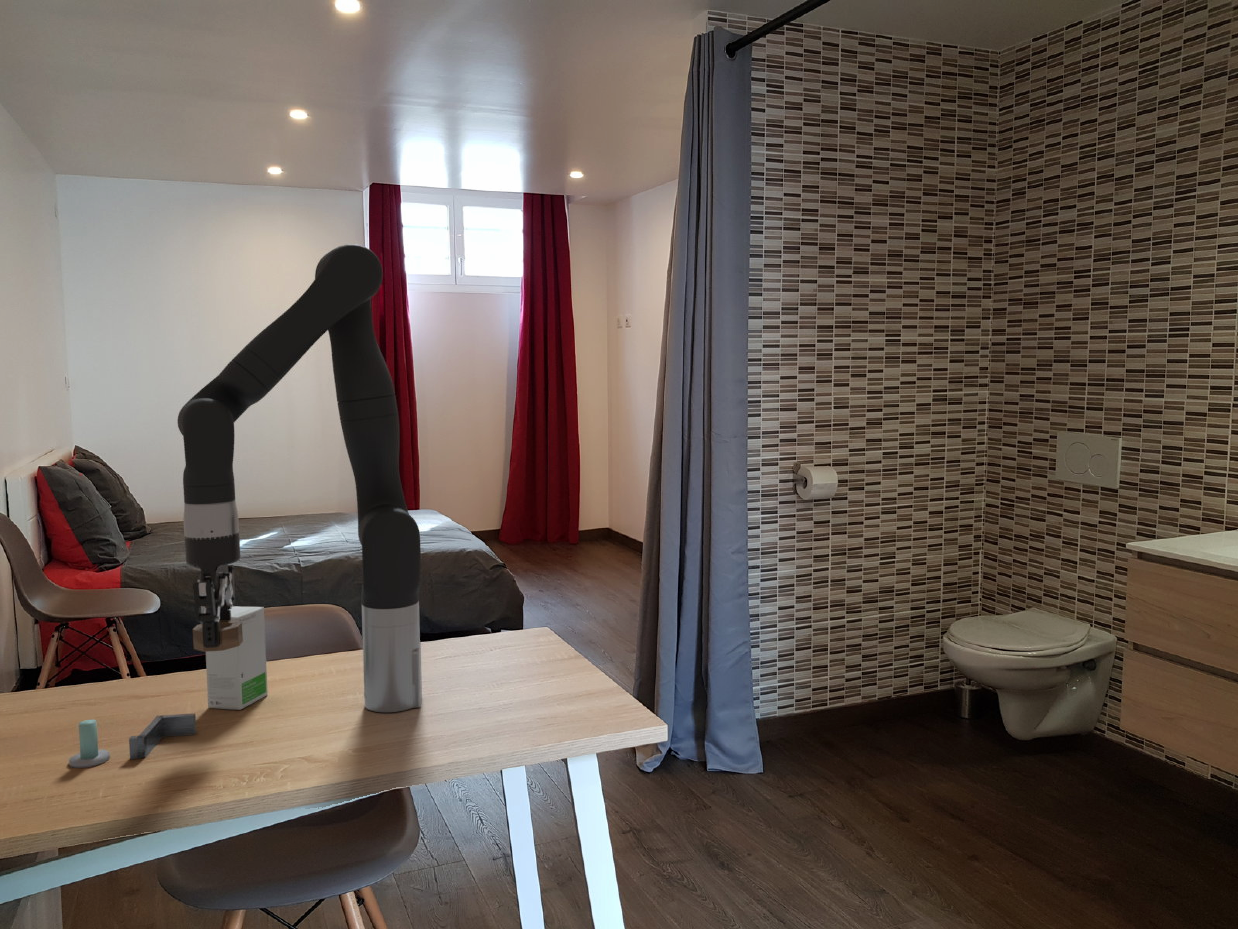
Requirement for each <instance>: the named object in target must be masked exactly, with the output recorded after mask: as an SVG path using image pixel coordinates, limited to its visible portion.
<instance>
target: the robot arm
mask: <svg viewBox="0 0 1238 929" xmlns="http://www.w3.org/2000/svg"><path fill="white" fill-rule="evenodd" d="M383 276H384V271H383V266H382V262H381V260H380V259H379V257H378V256H377V255H376V253H374V252H373V250H371V249H370V248H367V247H366V246H364V245H360V244H355V243H353V244H352V243H351V244H349V243H347V244H343V245H340V246H337V247H335V248H333V249H332V250H330V251H329V252H327V253H326V254H324V255H323V256H322V257H321V258H320V259H319V261H318V262H317V265H316V267H315V272H314V279H313V281H312V283H311V284H310V286H308V288H307V289H306V290H305V292H304V293H302V295H301V296H300V297H299V298H297V300H296V301H295V302H294V303H293V304H292V305H291V306H290V307H289V308H287V309H286V311H284V312H283V313H282V314H281V315H280V316H278V317H277V318H276V319H275V320H274V321H272V322H271V323H270V324H269V325H268V326H266V327H265V328H264V329H263V330H262V331H260V332H259V333H257V335H256V336H254V337H253V338H252V339H251V340H250V342H248V343H247V344H246V345H245V346H244V347H243V348H242V349H241V350H240V352H239V353H237V354H236V355H235V356H234V357H233V358H232V359H231V360H230V361H229V362H228V363H227V365H226V366H225V367H224V368H223V369H222V370H221V371H220V373H219V374H218V375H216V377H215V378H213V379H212V380H211V381H209V382H208V383H207V384H206V385H205V386H204V387H202V388H201V389H200V390H199V391H198V392H197V393H196V394H194V395H193V396H192V397H191V398H190V399H189V400H188V401H187V402H186V403H185V404H184V405H183V406H182V407H181V409H180V410H179V413H178V416H177V427H178V429H179V433H180V434H181V435H182V436H183V437H182V438H183V446H184V461H185V465H184V469H183V473H182V474H183V476H182V486H183V501H184V505H183V506H184V508H183V509H184V510H183V519H182V520H183V532H184V533H183V535H184V548H185V550H184V552H185V553H184V554H185V563H186V564H187V566H189V567H190V566H191V567H197V568H199V569H200V572H199V573H200V574H199V577H198V578H197V581H194V582H193V584H192V589H193V598H194V609H195V621H196V622H197V623H200V624H202V628H203V645H204V647H205V648H213V647H218V646H219V645H220V625H219V621H221V620H231V610H229V609H232V607H233V606H234V605H233V604H234V603H235V601H236V594H235V593H236V592H235V591H236V590H235V589H236V588H235V565H234V563H236V562H238V561H239V560H240V559H241V542H240V527H239V526H240V525H239V524H240V523H239V514H238V508H237V501H236V486H235V475H234V465H233V464H234V455H235V423H236V421H237V420H238V419H239V418H240V417H241V416H242V415H243V414H244V413H245V412H246V411H247V410H248V409H249V408H250V407H251V406H252V405H253V406H254V404H257V403H258V402H260V401H261V400H262V399H263V398H265V397H266V396H267V395H268V394H269V393H270V391H272V390H273V389H274V388H275V386H277V384H279V382H280V381H282V379H283V378H284V377H285V376H286V375H287V374H288V373H289V372H290V371H291V370H292V369H293V367H294V366H295V365H297V363H299V361H300V360H301V359H302V358H303V356H305V354H306V353H307V352H308V351H309V350H310V349H311V348H312V347H313V345H315V344H316V342H317V341H319V339H320V338H322V336H324V335H325V333H327V332H328V335H329V341H330V349H331V362H332V372H333V378H334V387H335V394H336V402H337V408H338V414H339V415H338V416H339V420H340V426H341V427H340V428H341V429H342V430H341V431H342V435H343V439H344V444H345V447H346V452H347V455H348V459H349V462H350V463H349V464H350V466H351V470H352V473H353V477H354V483H355V491H356V492H355V493H356V504H357V505H356V506H357V535H358V540H359V543H360V545H361V555H362V556H361V557H362V558H361V561H362V563H361V564H362V585H361V591H360V592H361V593H360V594H361V623H362V626H361V628H362V660H363V665H362V666H363V685H364V686H363V697H364V707H365V709H367V710H369V711H371V712H372V711H373V712H375V713H376V712H377V713H396V712H403V711H407V710H410V709H414V708H415V709H417V708H421V705H422V697H423V681H422V651H421V650H422V643H421V640H420V637H421V634H420V633H421V632H420V597H419V596H420V588H421V587H420V586H421V578H422V577H421V576H422V575H421V574H422V573H421V571H422V570H421V568H422V567H421V563H422V562H421V560H422V558H421V556H422V554H421V550H422V549H421V533H420V529H419V525H418V523H417V522H416V520H415V518H413V516H411V515H410V513H409V510H408V507H407V504H406V499H405V494H404V491H403V488H402V486H403V485H402V481H401V477H400V440H401V439H400V433H401V432H400V431H401V430H400V418H399V409H398V403H397V397H396V391H395V386H394V383H393V382H394V381H393V378H392V376H391V373H390V370H389V367H388V365H387V363H386V361H385V358H384V356H383V353H382V352H381V349H380V346H379V344H378V341H377V337H376V334H375V330H374V329H375V328H374V323H373V320H374V319H373V312H372V298H373V297H374V296H376V294H377V293H378V292H379V290H380V288H381V286H382V284H383V283H382V282H383V278H384V277H383ZM208 608H209V612H207V609H208Z"/></svg>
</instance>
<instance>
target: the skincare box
mask: <svg viewBox="0 0 1238 929" xmlns="http://www.w3.org/2000/svg"><path fill="white" fill-rule="evenodd" d="M229 610H231V620H235V621H239V622H242V633H243V642H242V643H241V644H240V645H239V646H238V647H234V648H230V649H227V650H223V651H209V652H205V663H206V664H205V665H206V684H207V685H206V687H207V707H208V708H210V709H219V710H221V709H222V710H240V711H241V710H242V709H245V708H247V707H248V706H250V705H252V704H253V703H255V702H257V701H259V700H261V699H263V698H264V697H267V696H268V692H269V691H268V675H267V674H268V671H267V668H268V667H267V654H266V653H267V652H266V651H267V650H266V648H267V647H266V629H265V627H266V626H265V607H264V606H235V605H233V607H232V609H229Z"/></svg>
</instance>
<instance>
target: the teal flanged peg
mask: <svg viewBox="0 0 1238 929" xmlns="http://www.w3.org/2000/svg"><path fill="white" fill-rule="evenodd" d="M97 725H98V724H97V720H96V719H86V720H81V721H79V722H78V737H79V738H78V739H79V751H80V752H78V753H76V754H74V755H72V756H71V757H70V758H69V759H68V764H69V765H68V766H69V767H71V768H74V769H84V768H85V769H86V768H91V767H95V766H99V765H102V764H103V763H105V762H107V761H109V759H110V755H111V754H110V751H109V750H107V749H102V748H101V749H100V748H99V741H98V740H99V738H98V726H97Z"/></svg>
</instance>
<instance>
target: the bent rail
mask: <svg viewBox="0 0 1238 929" xmlns="http://www.w3.org/2000/svg"><path fill="white" fill-rule="evenodd" d="M196 722H197V721H196V713H181V714H164V715H163V714H161V715H156V716H155V717H154V718H153V720H152V721H151V722H150V723H149V724H148V725H147V726H146V728H144V729H143V731H142V732H140V734H139V735H131V736H130V737H129V738H128V743H129V744H128V745H129V747H128V748H129V760H135V759H146V758H147V756H148V755H149V754H150V753H151V752H152V751H153V749H154V748H155V747H156V746H157V744H158V743H159V742H160V741H161V740H162V739H163V738H166V737H179V736H180V737H181V736H195V734H197V723H196Z"/></svg>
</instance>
